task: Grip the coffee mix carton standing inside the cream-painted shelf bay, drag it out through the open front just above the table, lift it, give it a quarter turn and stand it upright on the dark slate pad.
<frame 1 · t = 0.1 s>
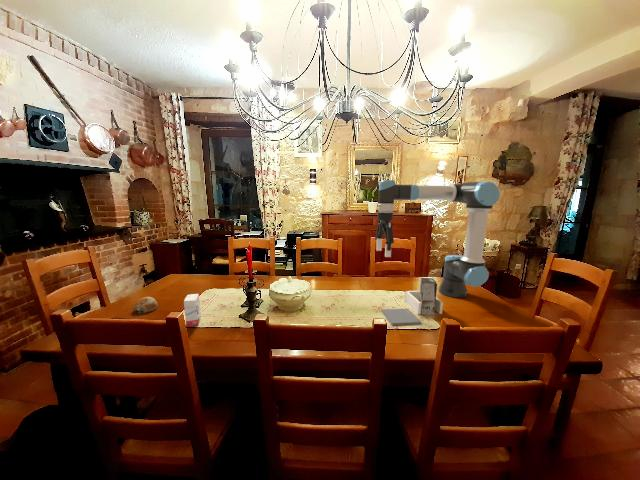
hand: (383, 253, 135), 28 cm above the table, fingers open, 13 cm apart
shelf bay: (422, 307, 138), on the table
slate pad: (400, 317, 126), on the table
grey brown rock: (146, 309, 131), on the table
ink box: (193, 322, 120), on the table
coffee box: (425, 311, 134), on the table
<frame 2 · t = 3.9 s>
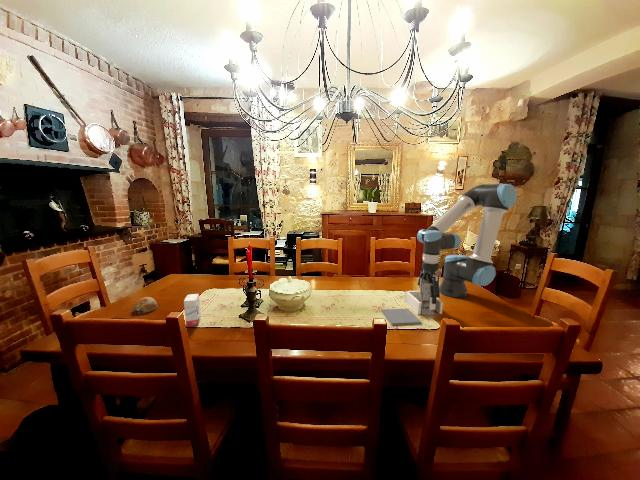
hand: (426, 304, 133), 3 cm above the table, fingers closed on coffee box, 10 cm apart
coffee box: (426, 311, 134), on the table, touching gripper
everything else where it was.
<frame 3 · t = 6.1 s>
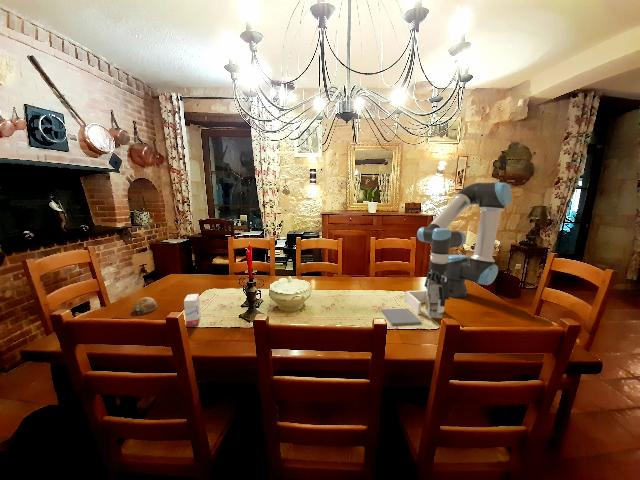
hand: (434, 307, 125), 5 cm above the table, fingers closed on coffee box, 10 cm apart
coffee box: (433, 313, 126), point 2 cm above the table, touching gripper
everything else where it was.
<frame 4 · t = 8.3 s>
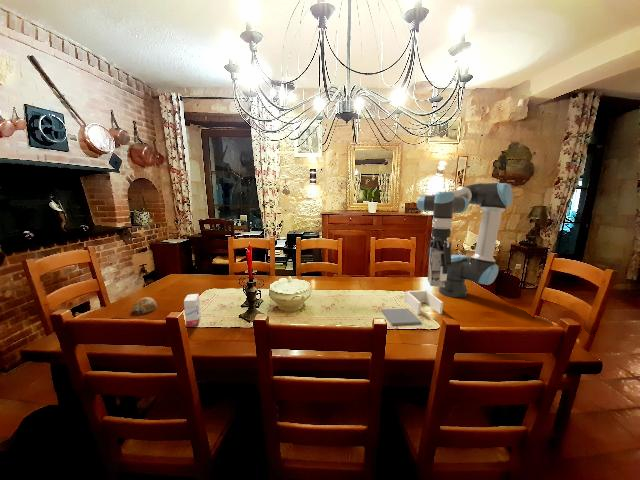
hand: (436, 276, 119), 22 cm above the table, fingers closed on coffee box, 10 cm apart
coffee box: (436, 283, 120), point 18 cm above the table, touching gripper
everything else where it was.
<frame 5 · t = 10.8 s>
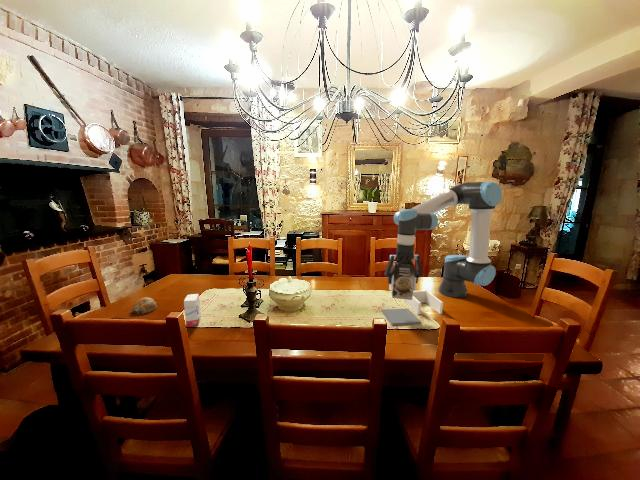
hand: (402, 290, 124), 14 cm above the table, fingers closed on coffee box, 10 cm apart
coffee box: (401, 297, 124), point 10 cm above the table, touching gripper
everything else where it was.
when the fingers open (5 cm above the table, at t = 12.9 s): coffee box drops 1 cm, resting on slate pad.
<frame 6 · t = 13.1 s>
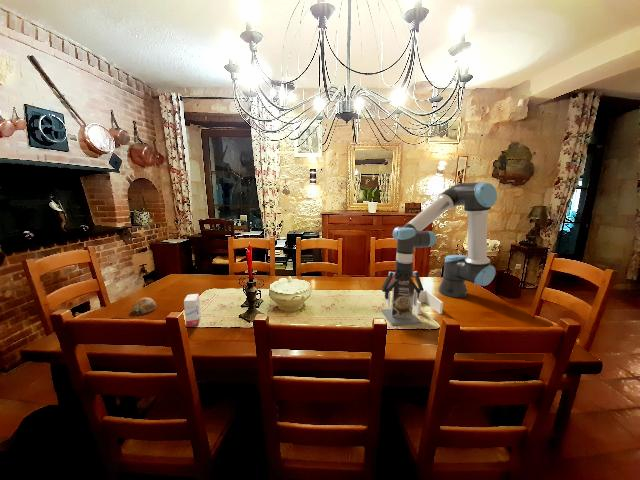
hand: (401, 305, 125), 6 cm above the table, fingers open, 12 cm apart
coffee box: (401, 315, 126), point 1 cm above the table, touching slate pad
everything else where it was.
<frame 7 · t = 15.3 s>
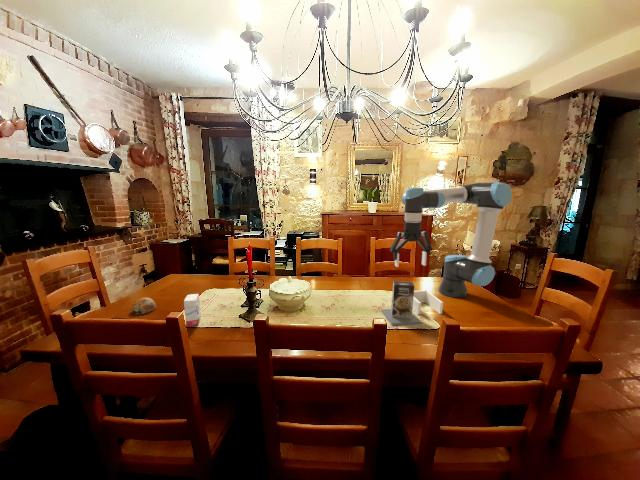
hand: (410, 265, 126), 24 cm above the table, fingers open, 13 cm apart
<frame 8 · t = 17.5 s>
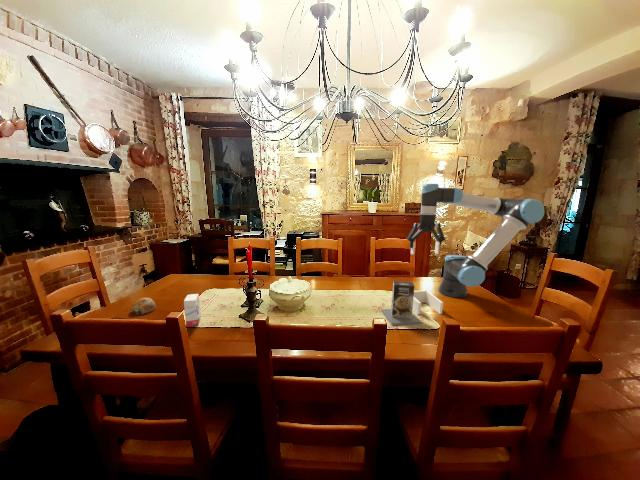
hand: (424, 253, 141), 27 cm above the table, fingers open, 13 cm apart
at the end: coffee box inside the target area on the slate pad (0.3 cm from its centre), point 0.8 cm above the slate pad's base; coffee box tilted 0°; the gripper is holding nothing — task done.
